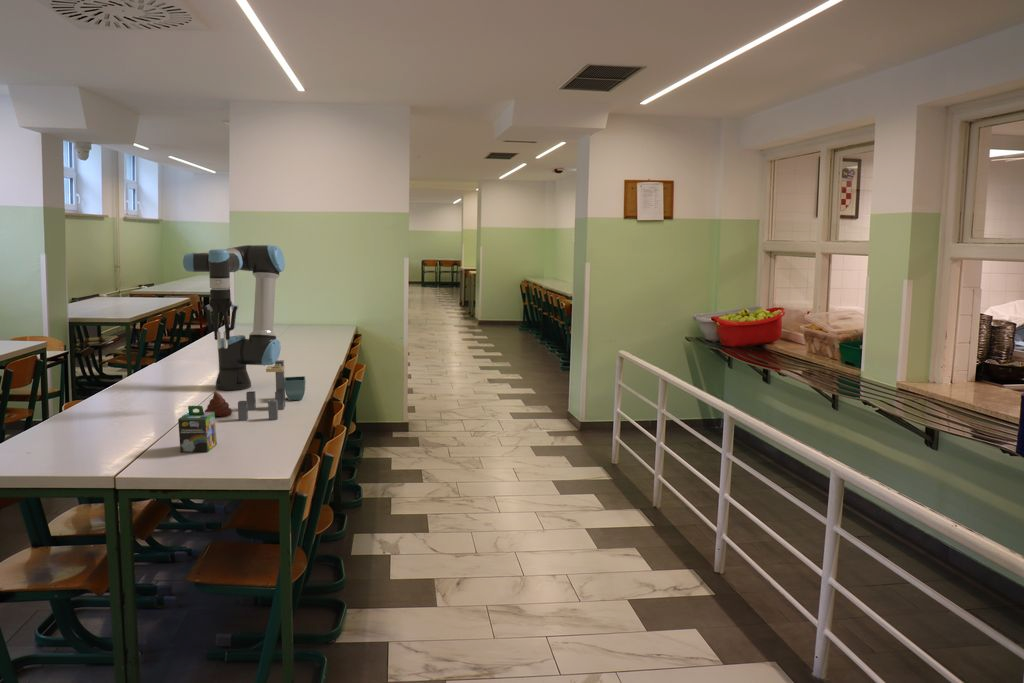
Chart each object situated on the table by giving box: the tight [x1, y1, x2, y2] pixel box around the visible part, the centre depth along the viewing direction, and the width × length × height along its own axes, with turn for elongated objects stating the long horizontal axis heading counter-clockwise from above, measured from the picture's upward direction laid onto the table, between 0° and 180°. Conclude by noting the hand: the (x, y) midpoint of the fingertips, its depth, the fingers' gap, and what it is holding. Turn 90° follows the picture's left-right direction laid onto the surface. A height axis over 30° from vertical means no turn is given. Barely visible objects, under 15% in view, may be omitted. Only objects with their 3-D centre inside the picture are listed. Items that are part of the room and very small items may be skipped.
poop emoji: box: [204, 391, 233, 418], centre depth 310 cm, size 10×8×9 cm
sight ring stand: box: [265, 359, 286, 409], centre depth 317 cm, size 6×16×19 cm, turn 8°
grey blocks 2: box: [267, 390, 285, 421], centre depth 313 cm, size 3×20×7 cm, turn 8°
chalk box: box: [177, 405, 218, 453], centre depth 264 cm, size 9×9×15 cm
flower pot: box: [284, 375, 307, 401], centre depth 339 cm, size 9×9×9 cm
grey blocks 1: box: [237, 391, 257, 422], centre depth 312 cm, size 3×20×7 cm, turn 8°
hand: (222, 347), depth 319 cm, fingers closed
